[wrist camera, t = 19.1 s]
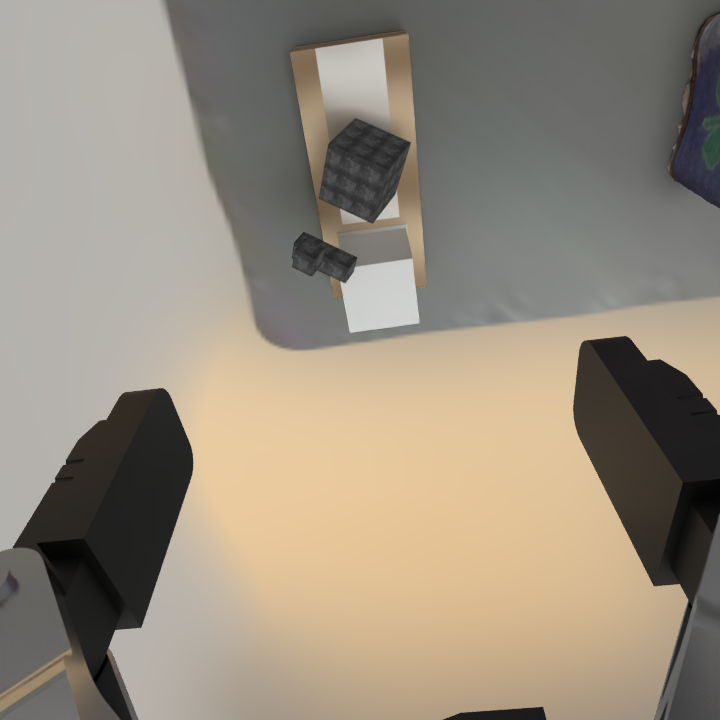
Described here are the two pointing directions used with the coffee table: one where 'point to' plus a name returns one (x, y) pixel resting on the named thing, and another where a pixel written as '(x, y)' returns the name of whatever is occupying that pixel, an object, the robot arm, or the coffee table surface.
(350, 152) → the building blocks
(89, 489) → the robot arm
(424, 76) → the coffee table surface
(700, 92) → the flask
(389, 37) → the frame
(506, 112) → the coffee table surface
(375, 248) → the grey block
